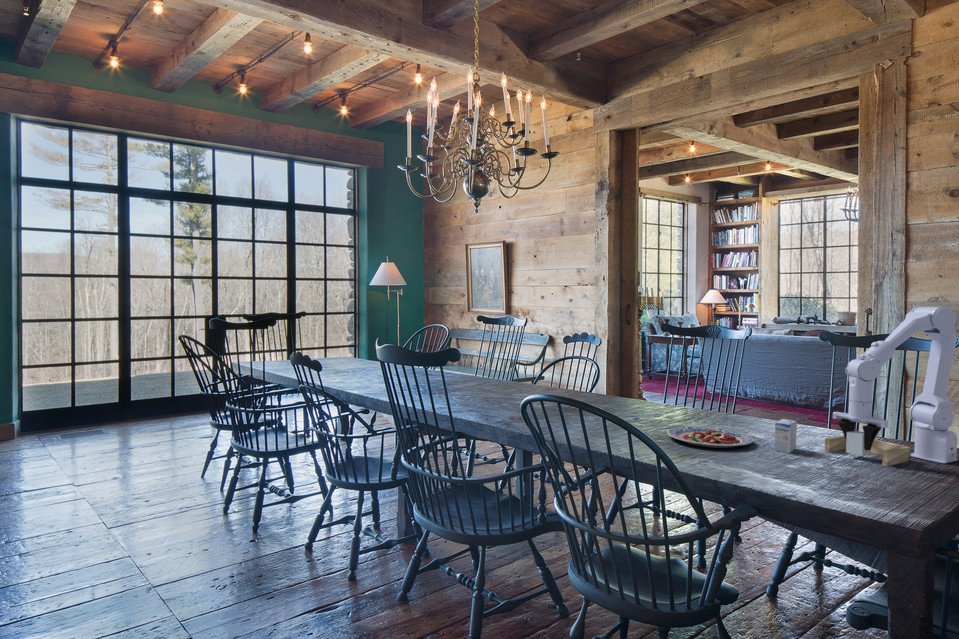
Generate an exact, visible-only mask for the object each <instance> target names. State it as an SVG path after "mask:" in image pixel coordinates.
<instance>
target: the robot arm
mask: <svg viewBox="0 0 959 639" xmlns="http://www.w3.org/2000/svg"><path fill="white" fill-rule="evenodd" d="M956 324H957V315H956V314H955V313H954V312H953V311H952V309H951V308H949V307H946V306H939V307H936V306H922V305H921V306H920V305H918V306H915V307H913V308H912V309H911V311H909V312H908V313H906V315H905V319H904V320H903V321H902V322H901V323H900V324H899V325H898V326H897V327H896V328H895V329H894V330H893V331H892V332H891V333H890V334H889V335H888V336H887V337H886V338H885V340H877V341H873V342H872V343H871V344H870V347H869V348H868V349H867V350H865V351H864V352H863V353H862V354H861V353H860V355H859V357H858V358H855V359H852V360H850V361H849V362H848V363H847V366H846V367H845V368H844V372H845V374H846V376H848V383H849V385H848V386H849V388H848V389H849V390H848V391H849V392H848V410H847V411H848V412H843V411H842V412H841V411H832V419H836V420H840V421H838V423H837V424H838V425H839V427H840V429H841V431H842V433H843V435H844V437H845V441H846V439H847V432H849V431H855V429H856V425H857V423H859V424H862V430H863V431H862V432H864V449H865V450H871V447H872V444H873V441H874V440H876V437H877V436H878V434H879V432H880V431H881V430H882V428H883V429H885V428H889V420H886V419H883V418H878V417H874V416H872V415H873V389H874V380H875V379H876V378H878V376H879V373H880V370H881V368H882V367H883V366H884V365H886V363H888V362H889V360H891V359H892V358H893V357H894V356H895V355H896V349H897V348H899V346H901V345H902V344H903V343H904V342H905V341H907V340H908V339H909V338H911V337H912V336H913V335H915V334H916V333H918V332H922V333H925V334H926V335H927V336H928V337H929V338H930V340H931V344H930V349H929V354H928V361H927V367H926V373H925V378H924V384H923V389H922V392H921V393H920V394H918V395H917V396H915V398H914V402H913V404H912V406H911V407H910V408H909V416H910V419H911V421H913V426H915V427H914V428H915V429H914V430H915V433H914V452H912V453H911V456H910V458H911V457H912V458H917V459H922V460H926V461H930V462H935V463H939V464H948V463H952V462H956V461H958V460H959V459H958V458H957V457H958V454H957V453H958V436H957V433H956V432H954V431H952V430H951V431H950V430H949V429H950V427H951V426H952V425H953V423H954V420H955V416H954V411H953V408H954V405H953V403H952V402H951V401H950V400H949V398H948V397H947V394H948V387H949V383H950V377H951V373H952V372H951V370H952V365H953V361H954V355H955V351H956V350H955V349H956V343H957V338H958V335H957V329H956ZM863 424H864V425H863Z"/></svg>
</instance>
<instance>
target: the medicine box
mask: <svg viewBox="0 0 959 639" xmlns="http://www.w3.org/2000/svg"><path fill="white" fill-rule="evenodd" d="M774 424H775V425H774V444H773V445H774V447H773V450H774V452H778V451H779V453H785V454H790V453H792V451H794V450H795V449H796V447H797V429H798V422H797V420H792V419H786V418H781V419H779V420H778V421H776V422H775V423H774Z"/></svg>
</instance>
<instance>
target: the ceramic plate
mask: <svg viewBox="0 0 959 639" xmlns="http://www.w3.org/2000/svg"><path fill="white" fill-rule="evenodd" d="M666 433H667V435H668V436H670V437H671V438H673V439H676V440H679V441H683V442H685V443H687V444H689V445H694V446H698V447H704V448H705V447H706V448H714V449H715V448H717V449H718V448H719V449H725V448H726V449H727V448H736V447H739V446H745V445H749V444H752V443H753V442H754V441H755V438H753V437H752V436H751V435H749V434H748V433H747V434H746V433H744V432H740V431H738V430H733V429H728V428H720V427H711V426H698V425H697V426H695V425H694V426H692V425H691V426H678V427H673V428H669V429H668V430H667V432H666Z"/></svg>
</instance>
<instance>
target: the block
mask: <svg viewBox="0 0 959 639" xmlns="http://www.w3.org/2000/svg"><path fill="white" fill-rule="evenodd" d="M845 453H846V454H847V453H848V454H851V455H856V456H859V457H863V456H870V455H871V454H872V453H871V450H865V449H864V431H860V430H854V431H849V432H847V439H846V449H845Z"/></svg>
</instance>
